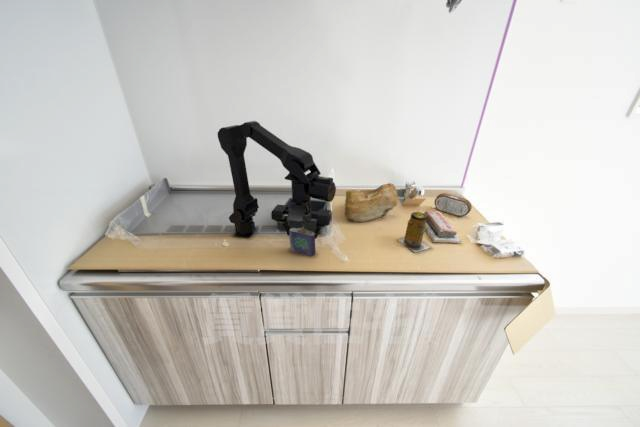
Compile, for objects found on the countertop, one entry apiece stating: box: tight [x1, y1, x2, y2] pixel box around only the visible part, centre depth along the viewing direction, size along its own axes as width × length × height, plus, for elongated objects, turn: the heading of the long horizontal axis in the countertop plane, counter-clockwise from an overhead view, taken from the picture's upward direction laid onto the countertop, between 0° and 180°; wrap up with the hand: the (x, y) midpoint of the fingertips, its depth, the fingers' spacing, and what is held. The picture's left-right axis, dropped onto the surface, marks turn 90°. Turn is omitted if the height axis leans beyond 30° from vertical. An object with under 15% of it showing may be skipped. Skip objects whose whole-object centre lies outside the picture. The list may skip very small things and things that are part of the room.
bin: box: [276, 197, 329, 235], centre depth 101 cm, size 18×18×6 cm
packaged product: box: [423, 210, 462, 244], centre depth 96 cm, size 18×5×10 cm
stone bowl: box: [343, 182, 399, 223], centre depth 106 cm, size 23×17×15 cm
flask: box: [288, 227, 316, 257], centre depth 81 cm, size 9×3×11 cm, turn 71°
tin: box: [434, 192, 473, 218], centre depth 109 cm, size 15×3×8 cm, turn 49°
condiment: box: [398, 211, 430, 253], centre depth 86 cm, size 7×8×12 cm
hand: (302, 236), depth 81 cm, fingers open, 9 cm apart
